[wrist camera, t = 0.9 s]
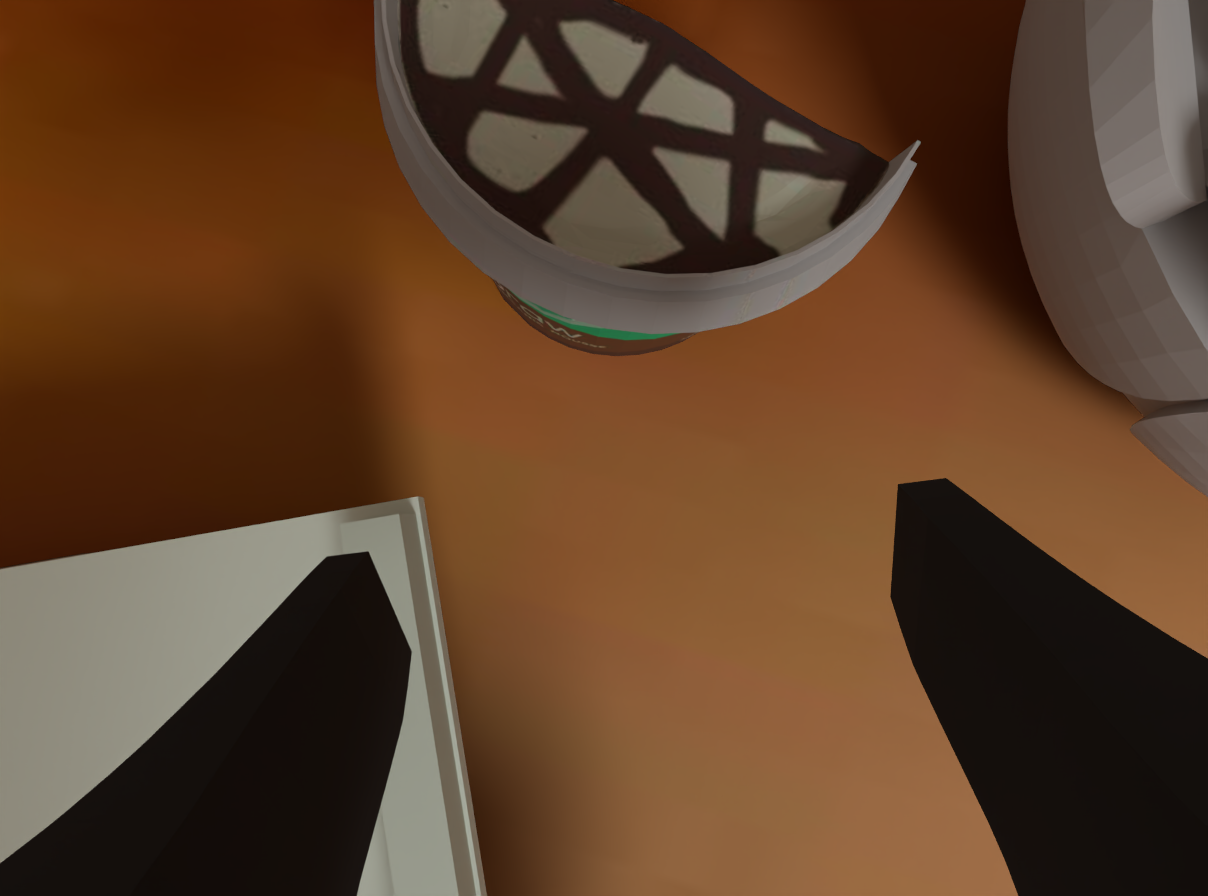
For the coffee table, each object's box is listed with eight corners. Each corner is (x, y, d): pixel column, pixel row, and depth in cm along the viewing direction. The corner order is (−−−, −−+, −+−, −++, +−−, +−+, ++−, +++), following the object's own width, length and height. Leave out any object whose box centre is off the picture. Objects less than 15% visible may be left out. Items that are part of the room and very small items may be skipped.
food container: (358, 274, 24) (223, 101, 14) (456, 114, 25) (394, -157, 15) (700, 464, 24) (804, 426, 14) (788, 299, 25) (945, 154, 15)
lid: (504, 1010, 17) (496, 1103, 15) (-92, 1148, 16) (-224, 1278, 14) (423, 497, 18) (401, 493, 16) (-146, 597, 17) (-279, 611, 14)
